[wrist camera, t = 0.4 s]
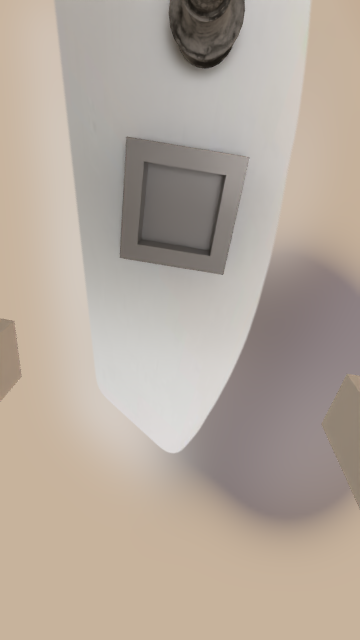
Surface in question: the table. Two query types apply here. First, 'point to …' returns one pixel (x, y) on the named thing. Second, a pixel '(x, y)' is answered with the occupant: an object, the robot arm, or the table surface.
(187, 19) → the dark grey tall piece
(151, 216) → the grey square tray
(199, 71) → the table surface
